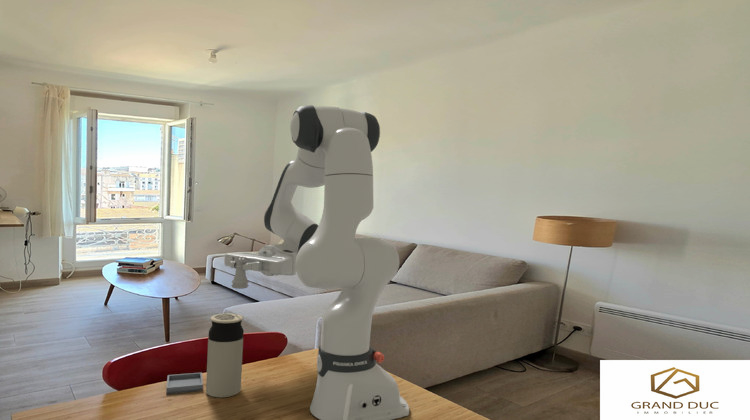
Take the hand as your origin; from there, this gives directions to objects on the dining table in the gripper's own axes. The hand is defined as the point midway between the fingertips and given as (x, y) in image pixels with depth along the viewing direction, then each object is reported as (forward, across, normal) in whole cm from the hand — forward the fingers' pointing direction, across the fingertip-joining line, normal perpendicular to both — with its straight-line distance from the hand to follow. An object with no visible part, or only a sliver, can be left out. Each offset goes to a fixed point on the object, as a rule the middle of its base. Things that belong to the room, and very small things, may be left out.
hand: (238, 266), depth 126 cm
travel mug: (+11, +7, +28) cm, 31 cm away
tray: (+14, -3, +28) cm, 31 cm away
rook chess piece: (-1, 0, +6) cm, 6 cm away
